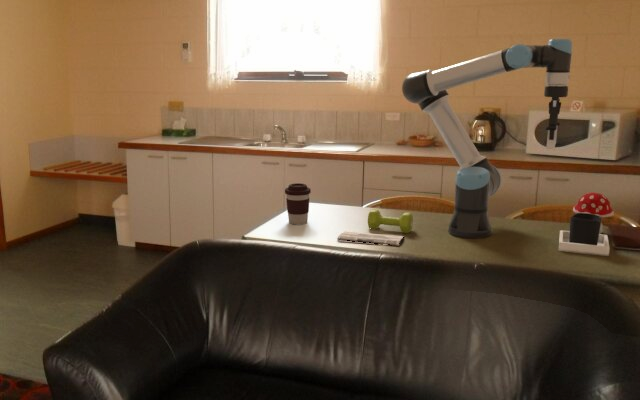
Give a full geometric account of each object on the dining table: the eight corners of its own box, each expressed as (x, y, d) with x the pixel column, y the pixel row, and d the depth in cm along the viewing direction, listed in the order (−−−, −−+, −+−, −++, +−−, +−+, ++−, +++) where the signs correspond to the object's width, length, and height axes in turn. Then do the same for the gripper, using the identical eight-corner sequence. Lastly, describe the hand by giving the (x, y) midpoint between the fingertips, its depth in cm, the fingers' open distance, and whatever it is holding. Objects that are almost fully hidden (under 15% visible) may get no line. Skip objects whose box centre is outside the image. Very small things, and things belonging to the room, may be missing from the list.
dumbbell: (365, 230, 218) (366, 212, 216) (372, 225, 225) (372, 207, 224) (408, 235, 212) (409, 216, 210) (414, 229, 219) (414, 211, 217)
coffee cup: (315, 221, 230) (315, 184, 227) (301, 227, 222) (301, 188, 219) (295, 217, 236) (294, 181, 232) (280, 223, 227) (279, 185, 224)
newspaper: (335, 243, 204) (336, 236, 204) (345, 237, 216) (345, 230, 216) (400, 249, 197) (400, 242, 197) (406, 242, 209) (407, 235, 209)
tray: (558, 250, 194) (559, 242, 193) (559, 238, 207) (560, 230, 207) (608, 256, 188) (609, 247, 188) (606, 243, 202) (607, 234, 201)
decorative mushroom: (616, 239, 206) (621, 198, 202) (574, 237, 209) (578, 196, 205) (606, 228, 219) (610, 189, 216) (566, 226, 222) (570, 188, 218)
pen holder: (562, 241, 202) (565, 213, 200) (588, 240, 203) (591, 212, 201) (577, 250, 193) (580, 220, 190) (604, 248, 194) (607, 219, 192)
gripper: (568, 87, 189) (562, 152, 194) (568, 84, 212) (563, 142, 217) (543, 86, 192) (537, 150, 197) (546, 83, 215) (541, 141, 220)
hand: (551, 146), depth 207 cm, fingers open, 13 cm apart
